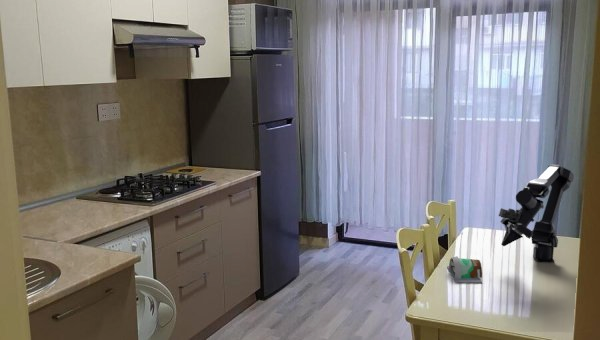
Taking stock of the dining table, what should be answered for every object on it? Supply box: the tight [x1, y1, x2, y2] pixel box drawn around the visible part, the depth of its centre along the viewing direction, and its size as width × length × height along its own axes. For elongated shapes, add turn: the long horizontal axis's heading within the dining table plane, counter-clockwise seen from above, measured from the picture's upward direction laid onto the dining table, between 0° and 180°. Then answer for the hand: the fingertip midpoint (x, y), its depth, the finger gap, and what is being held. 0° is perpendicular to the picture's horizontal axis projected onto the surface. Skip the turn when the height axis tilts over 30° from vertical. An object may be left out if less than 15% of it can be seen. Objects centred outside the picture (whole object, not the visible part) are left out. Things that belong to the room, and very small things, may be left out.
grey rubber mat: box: [446, 265, 483, 284], centre depth 213 cm, size 10×16×1 cm, turn 176°
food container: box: [448, 256, 483, 279], centre depth 213 cm, size 12×6×10 cm
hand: (502, 245), depth 215 cm, fingers closed
